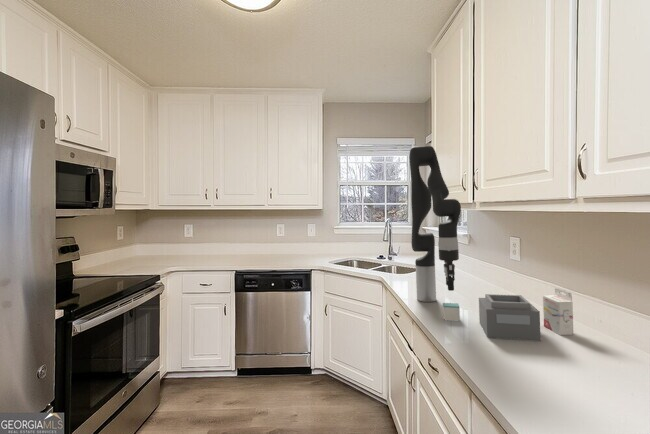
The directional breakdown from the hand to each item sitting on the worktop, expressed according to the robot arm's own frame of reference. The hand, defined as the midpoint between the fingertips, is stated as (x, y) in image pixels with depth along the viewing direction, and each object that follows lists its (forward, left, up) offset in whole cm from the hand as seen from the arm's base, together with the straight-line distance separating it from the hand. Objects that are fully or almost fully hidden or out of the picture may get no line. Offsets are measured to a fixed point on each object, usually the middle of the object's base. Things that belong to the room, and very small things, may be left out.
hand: (449, 287), depth 126 cm
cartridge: (0, 0, -13) cm, 13 cm away
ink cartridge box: (+6, +35, -13) cm, 38 cm away
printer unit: (+10, +18, -13) cm, 24 cm away
